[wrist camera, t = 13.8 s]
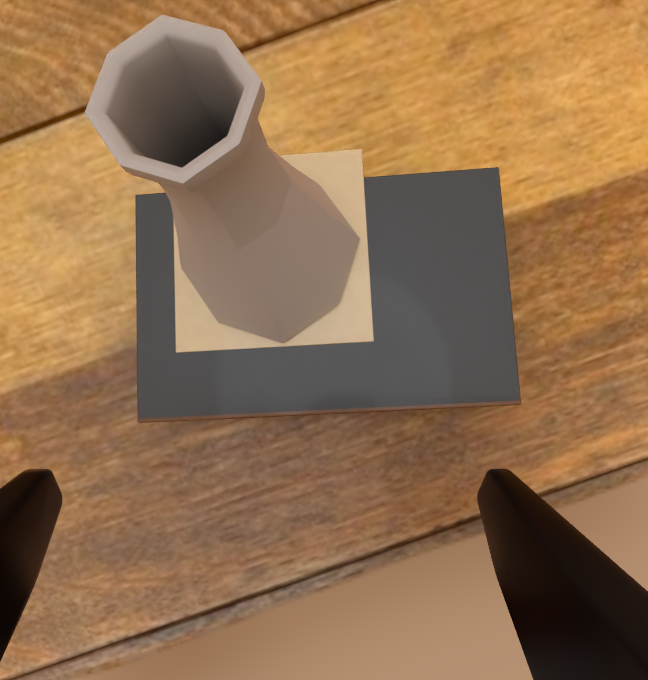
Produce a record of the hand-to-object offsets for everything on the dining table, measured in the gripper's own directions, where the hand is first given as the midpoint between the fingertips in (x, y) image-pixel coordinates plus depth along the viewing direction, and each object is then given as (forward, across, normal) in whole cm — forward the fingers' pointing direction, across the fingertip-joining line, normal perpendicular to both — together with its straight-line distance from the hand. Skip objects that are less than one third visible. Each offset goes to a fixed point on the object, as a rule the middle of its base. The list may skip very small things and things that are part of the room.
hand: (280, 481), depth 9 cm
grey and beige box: (+12, -2, +2) cm, 13 cm away
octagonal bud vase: (+11, +1, 0) cm, 11 cm away
